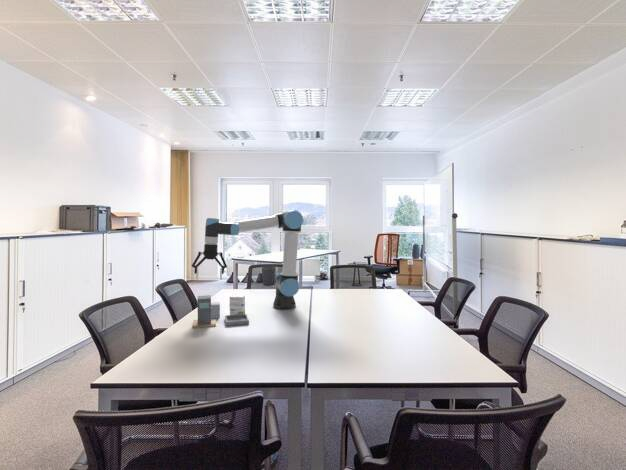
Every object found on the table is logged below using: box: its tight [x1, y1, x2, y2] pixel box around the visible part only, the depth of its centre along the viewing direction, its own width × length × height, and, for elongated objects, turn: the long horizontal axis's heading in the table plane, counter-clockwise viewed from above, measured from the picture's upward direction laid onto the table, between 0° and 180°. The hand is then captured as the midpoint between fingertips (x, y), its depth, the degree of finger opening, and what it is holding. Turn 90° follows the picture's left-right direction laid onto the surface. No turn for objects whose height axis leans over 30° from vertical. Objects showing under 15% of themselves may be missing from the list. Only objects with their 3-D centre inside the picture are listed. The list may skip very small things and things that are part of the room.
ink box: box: [229, 295, 246, 315], centre depth 209 cm, size 9×5×12 cm, turn 86°
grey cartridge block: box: [211, 301, 221, 319], centre depth 205 cm, size 5×6×8 cm
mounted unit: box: [192, 295, 217, 329], centre depth 190 cm, size 12×12×15 cm
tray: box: [224, 313, 250, 327], centre depth 194 cm, size 12×13×2 cm
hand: (208, 279), depth 203 cm, fingers open, 13 cm apart
